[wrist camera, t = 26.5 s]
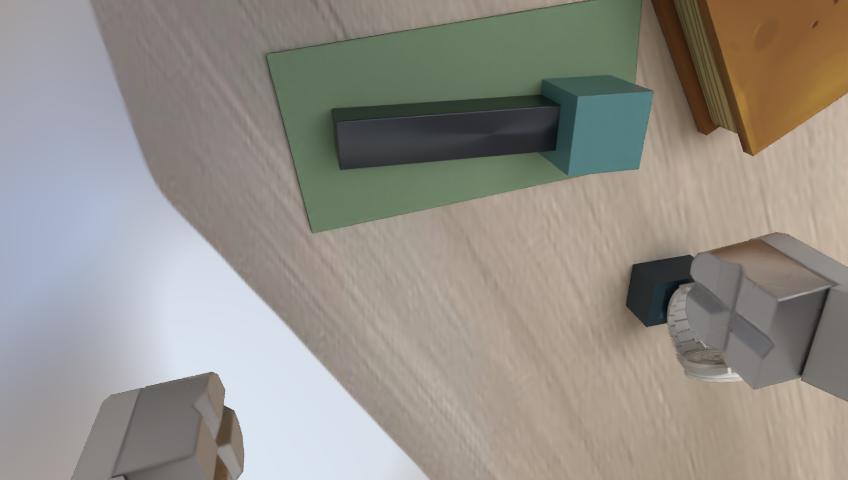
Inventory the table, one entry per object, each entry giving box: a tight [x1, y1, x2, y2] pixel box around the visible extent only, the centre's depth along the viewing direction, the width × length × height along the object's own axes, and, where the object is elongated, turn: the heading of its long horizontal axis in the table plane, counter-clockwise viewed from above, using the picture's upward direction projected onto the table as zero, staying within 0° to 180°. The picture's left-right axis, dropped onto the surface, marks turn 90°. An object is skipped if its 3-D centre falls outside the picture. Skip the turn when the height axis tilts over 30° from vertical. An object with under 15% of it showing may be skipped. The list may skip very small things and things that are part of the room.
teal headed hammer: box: [332, 75, 654, 176], centre depth 33 cm, size 5×19×5 cm, turn 91°
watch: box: [626, 255, 743, 382], centre depth 42 cm, size 6×8×11 cm
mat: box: [266, 0, 642, 233], centre depth 35 cm, size 24×12×1 cm, turn 97°
